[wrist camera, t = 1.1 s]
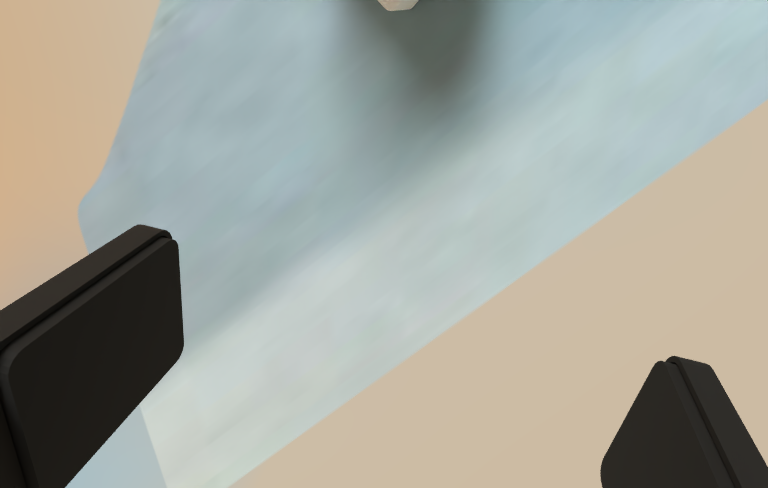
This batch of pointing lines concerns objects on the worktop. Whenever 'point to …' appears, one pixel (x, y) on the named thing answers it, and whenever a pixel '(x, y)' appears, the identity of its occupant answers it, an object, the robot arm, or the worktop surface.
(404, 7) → the medicine bottle
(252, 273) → the worktop surface
